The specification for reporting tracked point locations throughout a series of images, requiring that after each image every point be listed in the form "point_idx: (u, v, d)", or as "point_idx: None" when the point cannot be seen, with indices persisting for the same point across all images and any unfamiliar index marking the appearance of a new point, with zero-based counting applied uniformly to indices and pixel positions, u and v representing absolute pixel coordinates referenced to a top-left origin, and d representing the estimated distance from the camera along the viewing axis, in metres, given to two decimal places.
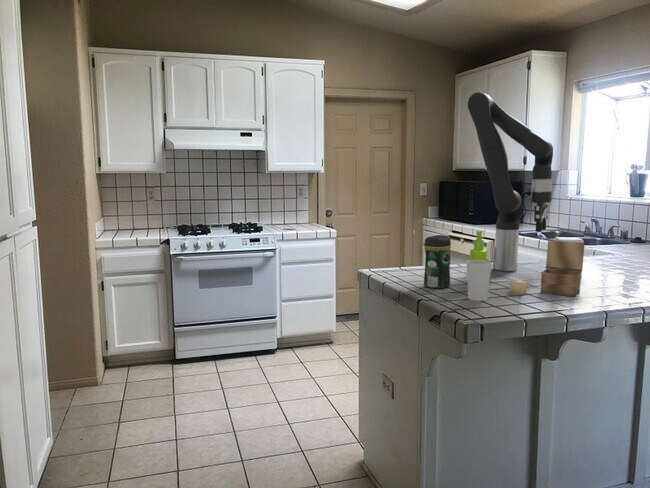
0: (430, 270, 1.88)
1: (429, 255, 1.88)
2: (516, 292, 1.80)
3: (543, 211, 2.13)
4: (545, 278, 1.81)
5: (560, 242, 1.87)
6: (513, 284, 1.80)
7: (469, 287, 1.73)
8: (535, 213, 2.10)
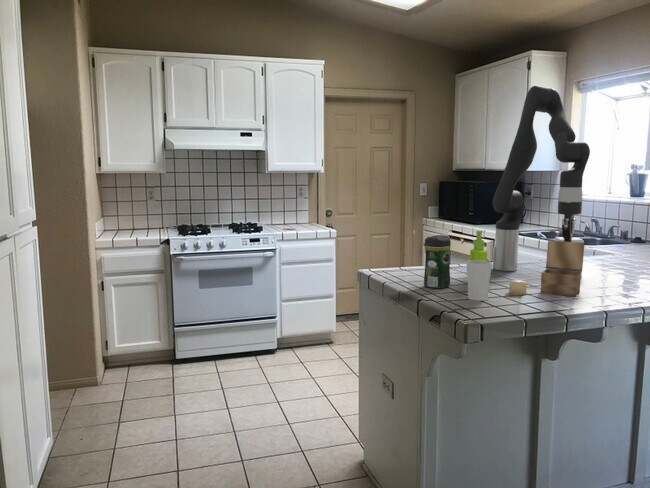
0: (430, 270, 1.88)
1: (429, 255, 1.88)
2: (516, 292, 1.80)
3: (572, 226, 1.85)
4: (545, 278, 1.81)
5: (560, 242, 1.87)
6: (513, 284, 1.80)
7: (469, 287, 1.73)
8: (563, 232, 1.84)
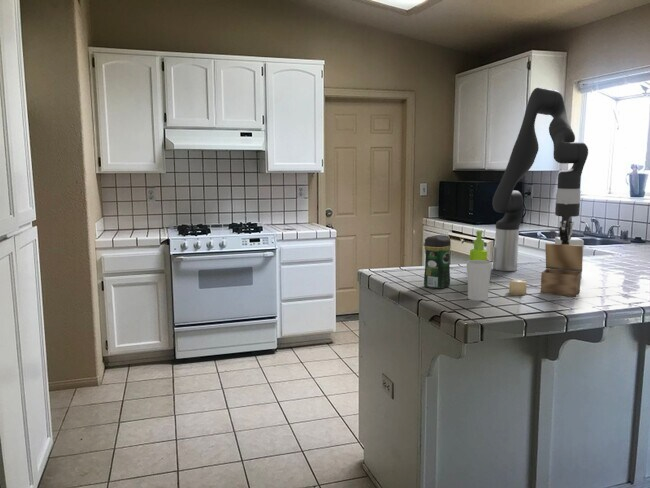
0: (430, 270, 1.88)
1: (429, 255, 1.88)
2: (516, 292, 1.80)
3: (569, 228, 1.81)
4: (545, 278, 1.81)
5: (557, 245, 1.83)
6: (513, 284, 1.80)
7: (469, 287, 1.73)
8: (561, 234, 1.80)
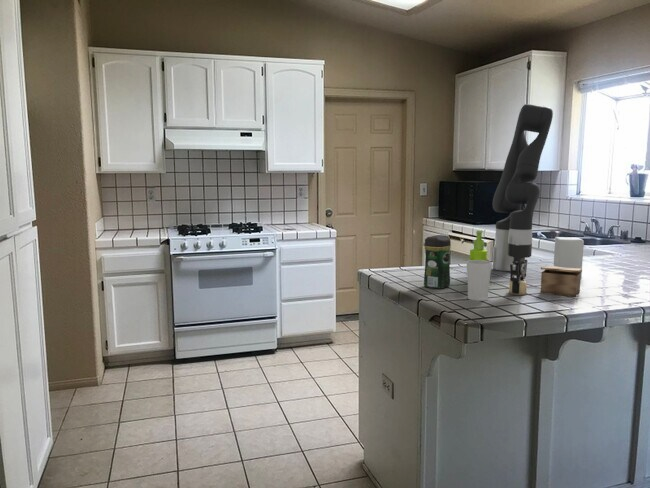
0: (430, 270, 1.88)
1: (429, 255, 1.88)
2: None
3: (521, 268, 1.78)
4: (545, 278, 1.81)
5: None
6: None
7: (469, 287, 1.73)
8: (511, 273, 1.76)
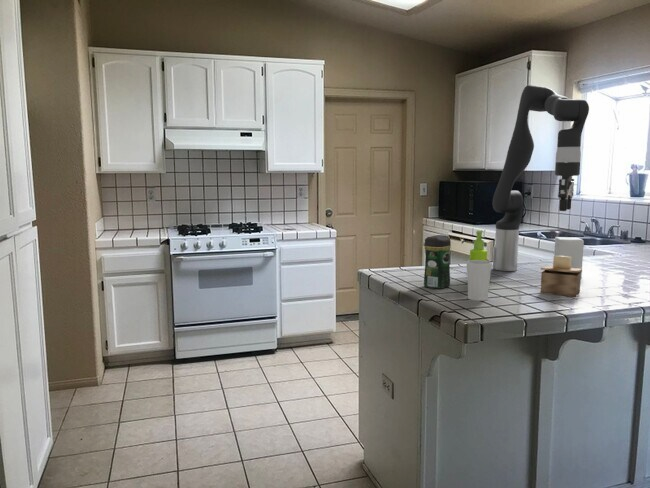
0: (430, 270, 1.88)
1: (429, 255, 1.88)
2: (561, 266, 1.80)
3: (569, 186, 1.75)
4: (545, 278, 1.81)
5: (553, 270, 1.79)
6: (558, 258, 1.80)
7: (469, 287, 1.73)
8: (560, 188, 1.73)
